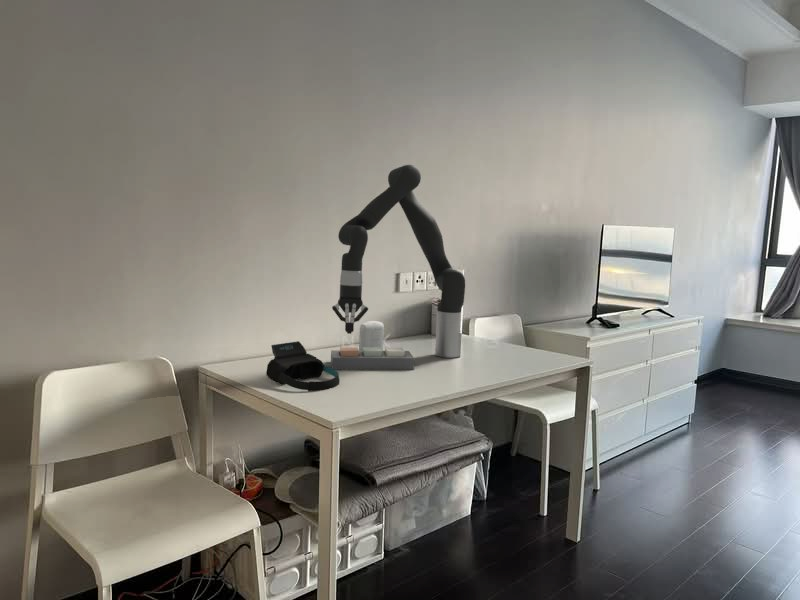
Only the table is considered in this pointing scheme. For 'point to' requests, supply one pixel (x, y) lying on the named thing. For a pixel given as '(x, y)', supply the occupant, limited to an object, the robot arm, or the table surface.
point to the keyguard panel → (372, 361)
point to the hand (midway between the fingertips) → (349, 333)
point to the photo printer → (371, 335)
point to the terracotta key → (349, 351)
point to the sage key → (372, 351)
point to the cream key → (394, 352)
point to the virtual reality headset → (298, 368)
